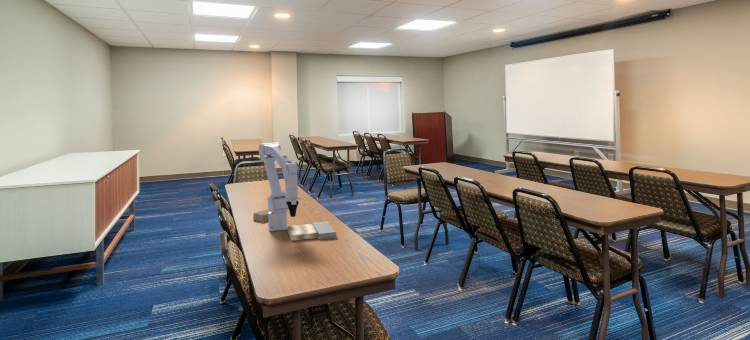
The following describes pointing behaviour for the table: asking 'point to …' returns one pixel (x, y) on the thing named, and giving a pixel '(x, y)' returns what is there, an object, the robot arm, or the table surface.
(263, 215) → the brick
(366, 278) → the table surface
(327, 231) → the board
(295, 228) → the cream flat slab
